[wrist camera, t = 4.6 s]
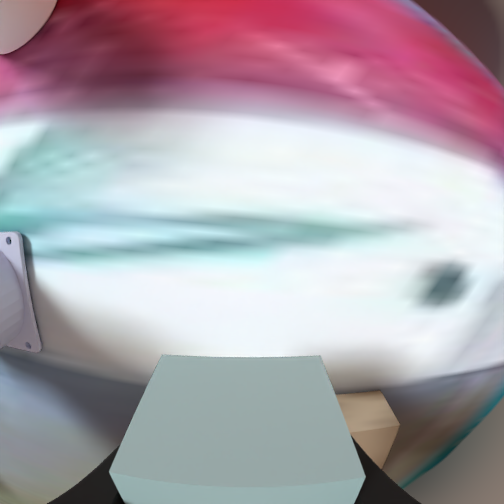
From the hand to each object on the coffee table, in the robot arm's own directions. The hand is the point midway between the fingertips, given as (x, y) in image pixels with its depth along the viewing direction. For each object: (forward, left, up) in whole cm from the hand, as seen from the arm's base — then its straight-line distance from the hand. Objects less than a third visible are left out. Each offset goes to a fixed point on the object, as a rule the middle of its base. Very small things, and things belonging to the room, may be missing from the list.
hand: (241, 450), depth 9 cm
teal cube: (0, 0, -2) cm, 2 cm away
